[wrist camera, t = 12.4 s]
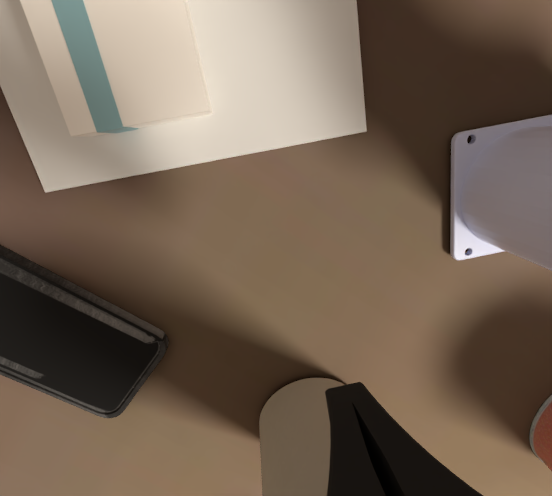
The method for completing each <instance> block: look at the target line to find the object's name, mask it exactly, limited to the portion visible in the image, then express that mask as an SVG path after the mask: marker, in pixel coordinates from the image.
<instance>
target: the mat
mask: <svg viewBox="0 0 552 496" xmlns="http://www.w3.org/2000/svg"><path fill="white" fill-rule="evenodd" d="M187 1H188V5H189V10H190V14H191V19H192V23H193V27H194V32H195V36H196V41H197V45H198V49H199V54H200V58H201V63H202V67H203V72H204V76H205V80H206V85H207V89H208V94H209V98H210V102H211V107H212V111H213V114H211V115H206V116H201V117H195V118H190V119H184V120H179V121H174V122H168V123H163V124H158V125H152V126H147V127H142V128H138V129H137V130H132V131H126V132H121V133H109V134H104V135H99V136H93V137H83V136H71V135H70V133H69V130H68V127H67V125H66V122H65V119H64V117H63V114H62V111H61V109H60V106H59V103H58V101H57V98H56V95H55V93H54V90H53V87H52V85H51V82H50V79H49V77H48V74H47V71H46V68H45V66H44V63H43V60H42V58H41V55H40V52H39V50H38V47H37V44H36V42H35V39H34V36H33V34H32V31H31V28H30V26H29V23H28V20H27V18H26V15H25V12H24V10H23V7H22V4H21V2H20V0H0V86H1V89H2V91H3V93H4V96H5V98H6V101H7V103H8V105H9V108H10V110H11V112H12V115H13V117H14V120H15V122H16V124H17V127H18V129H19V131H20V134H21V136H22V139H23V141H24V143H25V146H26V148H27V150H28V153H29V155H30V158H31V160H32V162H33V165H34V167H35V169H36V172H37V174H38V177H39V179H40V181H41V184H42V186H43V188H44V191H45V193H46V192H51V191H56V190H62V189H67V188H72V187H77V186H83V185H88V184H93V183H98V182H104V181H109V180H114V179H119V178H125V177H130V176H135V175H140V174H146V173H151V172H156V171H161V170H167V169H172V168H177V167H183V166H188V165H193V164H198V163H204V162H209V161H214V160H219V159H225V158H230V157H235V156H240V155H246V154H251V153H256V152H261V151H267V150H272V149H277V148H282V147H288V146H293V145H298V144H303V143H309V142H314V141H319V140H324V139H330V138H335V137H340V136H345V135H351V134H356V133H361V132H367V129H366V116H365V103H364V90H363V77H362V65H361V52H360V39H359V26H358V13H357V0H187Z"/></svg>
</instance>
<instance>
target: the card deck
mask: <svg viewBox="0 0 552 496" xmlns="http://www.w3.org/2000/svg"><path fill="white" fill-rule="evenodd" d="M20 2H21V4H22V7H23V10H24V12H25V15H26V18H27V20H28V23H29V26H30V28H31V31H32V34H33V36H34V39H35V42H36V44H37V47H38V50H39V52H40V55H41V58H42V60H43V63H44V66H45V68H46V71H47V74H48V77H49V79H50V82H51V85H52V87H53V90H54V93H55V95H56V98H57V101H58V103H59V106H60V109H61V111H62V114H63V117H64V119H65V122H66V125H67V127H68V130H69V133H70V135H71V136H83V137H93V136H99V135H104V134H109V133H121V132H126V131H132V130H137V129H138V128H142V127H147V126H152V125H158V124H163V123H168V122H174V121H179V120H184V119H190V118H195V117H201V116H206V115H211V114H213V111H212V107H211V102H210V98H209V94H208V89H207V85H206V80H205V76H204V72H203V67H202V63H201V58H200V54H199V49H198V45H197V41H196V36H195V32H194V27H193V23H192V19H191V14H190V10H189V5H188V1H187V0H20Z"/></svg>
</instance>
